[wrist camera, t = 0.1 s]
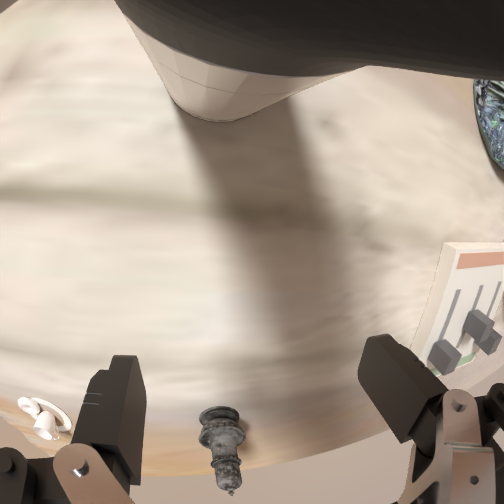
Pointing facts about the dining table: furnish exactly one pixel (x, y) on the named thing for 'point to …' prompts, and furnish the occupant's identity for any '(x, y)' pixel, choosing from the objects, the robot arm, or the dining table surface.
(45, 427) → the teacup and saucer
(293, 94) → the robot arm
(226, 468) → the grey chess pawn
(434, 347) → the block
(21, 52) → the dining table surface
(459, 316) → the board
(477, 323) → the block
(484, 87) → the green bell-shaped piece
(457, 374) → the dining table surface
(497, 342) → the block
